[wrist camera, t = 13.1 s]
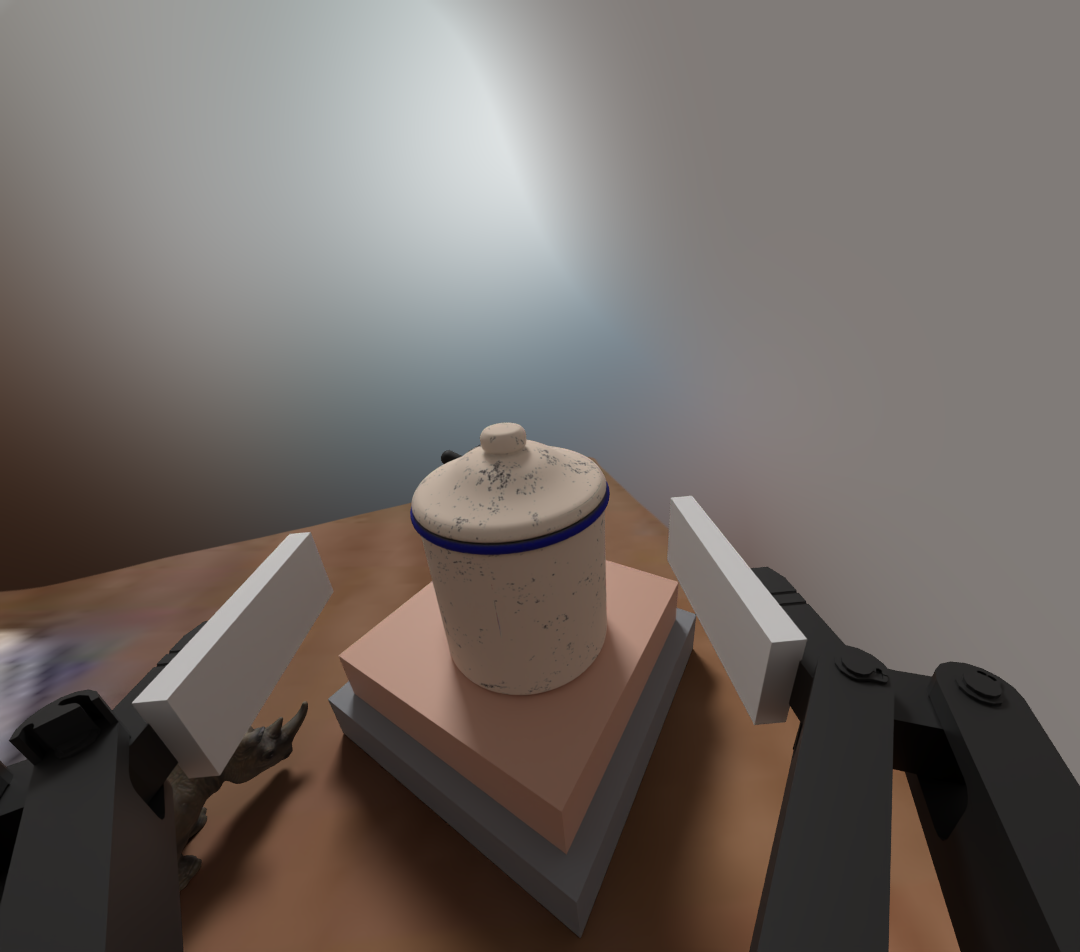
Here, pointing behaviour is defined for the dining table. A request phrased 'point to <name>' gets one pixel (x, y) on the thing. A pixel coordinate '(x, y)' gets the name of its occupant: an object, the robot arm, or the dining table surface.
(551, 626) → the teacup with lid
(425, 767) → the brick plinth
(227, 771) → the rhino figurine
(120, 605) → the dining table surface
